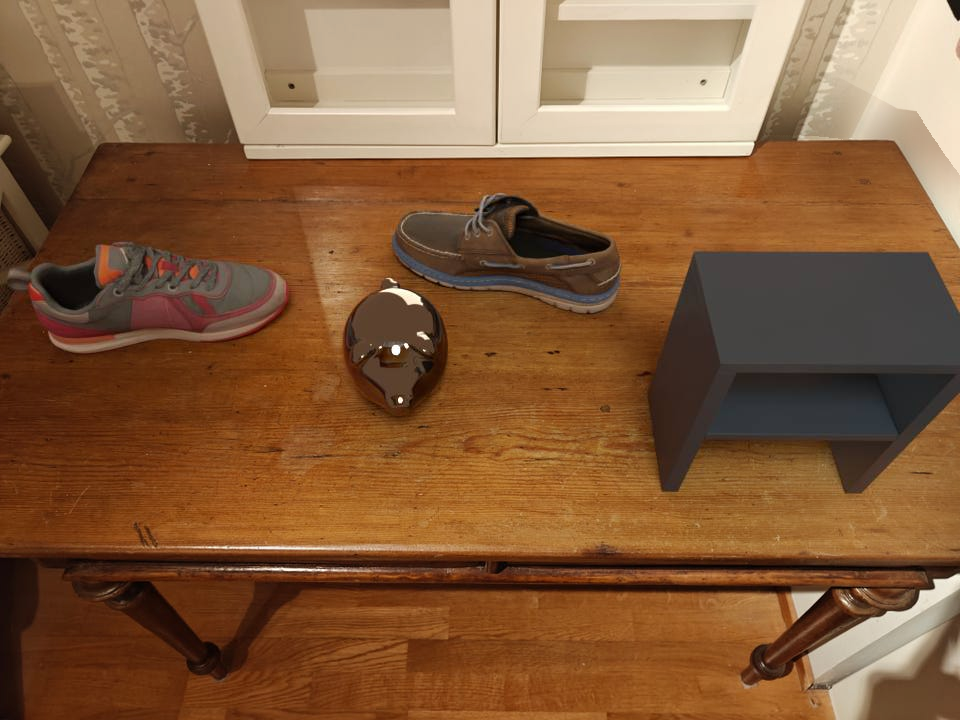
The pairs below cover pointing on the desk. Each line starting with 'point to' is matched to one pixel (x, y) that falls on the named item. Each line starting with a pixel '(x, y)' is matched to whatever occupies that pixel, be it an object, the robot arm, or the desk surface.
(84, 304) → the sneaker
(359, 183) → the desk surface
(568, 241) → the boat shoe
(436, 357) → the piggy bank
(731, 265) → the shelf
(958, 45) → the cup
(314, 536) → the desk surface
